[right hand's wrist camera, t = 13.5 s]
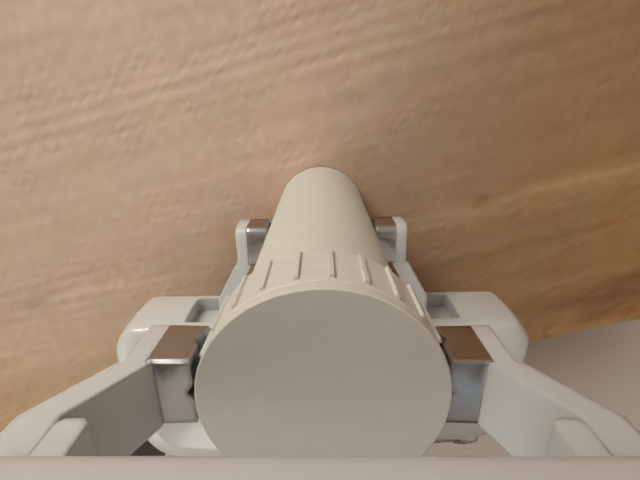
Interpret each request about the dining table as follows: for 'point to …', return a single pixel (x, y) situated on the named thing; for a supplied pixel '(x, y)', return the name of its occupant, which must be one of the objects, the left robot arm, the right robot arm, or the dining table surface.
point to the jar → (321, 218)
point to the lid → (323, 363)
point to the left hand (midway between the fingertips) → (320, 220)
